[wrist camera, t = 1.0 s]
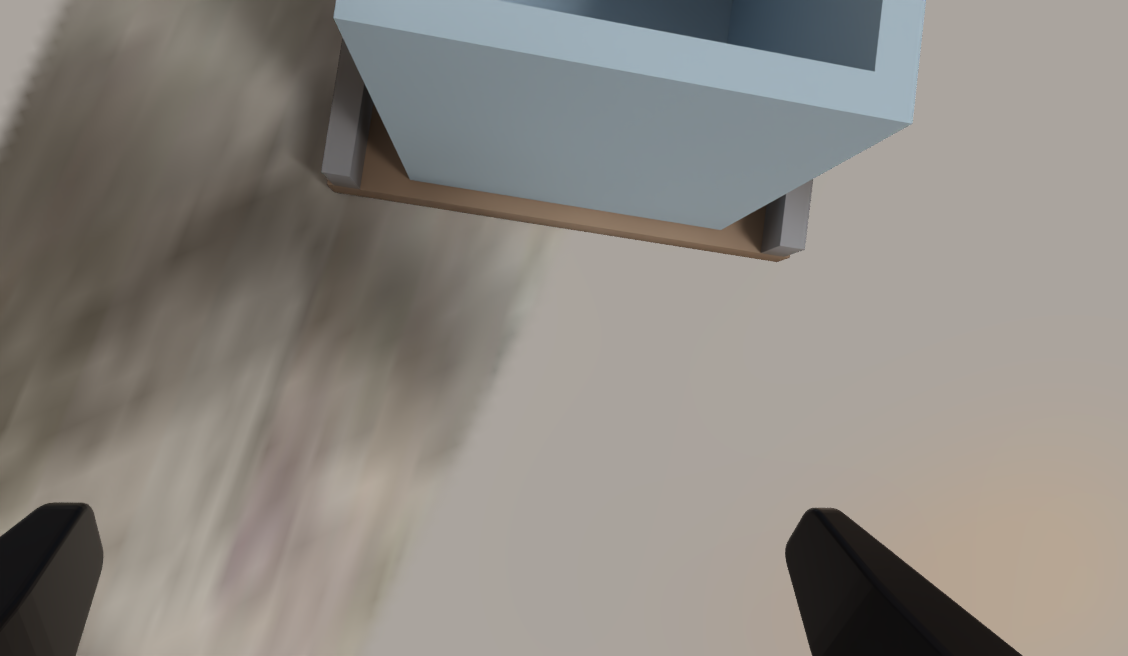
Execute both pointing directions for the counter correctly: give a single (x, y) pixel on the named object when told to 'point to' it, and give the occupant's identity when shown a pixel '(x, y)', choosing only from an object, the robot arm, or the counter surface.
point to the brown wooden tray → (375, 170)
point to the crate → (636, 95)
